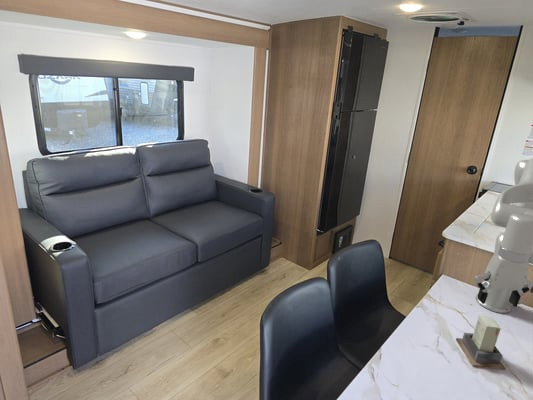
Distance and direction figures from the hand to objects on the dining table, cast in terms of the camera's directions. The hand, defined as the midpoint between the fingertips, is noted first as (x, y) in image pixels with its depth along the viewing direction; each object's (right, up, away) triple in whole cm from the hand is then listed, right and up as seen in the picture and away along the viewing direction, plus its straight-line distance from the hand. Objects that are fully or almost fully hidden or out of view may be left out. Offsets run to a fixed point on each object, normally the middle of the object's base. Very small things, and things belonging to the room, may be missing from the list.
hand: (496, 302), depth 110 cm
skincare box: (-1, -18, +7) cm, 20 cm away
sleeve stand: (-1, -19, +7) cm, 20 cm away
